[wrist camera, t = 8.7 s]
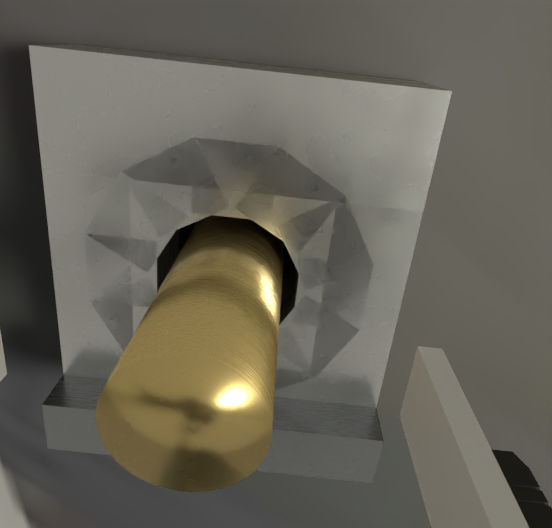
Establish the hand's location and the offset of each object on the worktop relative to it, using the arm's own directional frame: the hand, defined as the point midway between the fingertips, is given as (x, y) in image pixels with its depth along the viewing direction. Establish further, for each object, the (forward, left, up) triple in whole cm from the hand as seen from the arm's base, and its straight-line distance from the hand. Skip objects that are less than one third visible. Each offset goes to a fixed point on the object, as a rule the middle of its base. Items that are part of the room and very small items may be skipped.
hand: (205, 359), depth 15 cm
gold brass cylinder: (0, 0, -9) cm, 9 cm away
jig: (0, 0, -9) cm, 9 cm away
